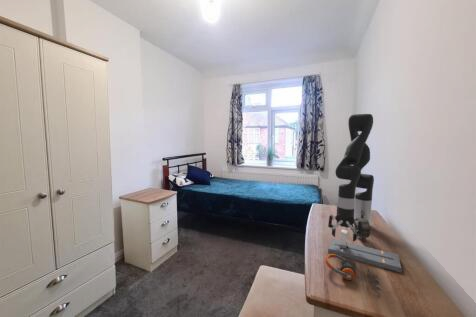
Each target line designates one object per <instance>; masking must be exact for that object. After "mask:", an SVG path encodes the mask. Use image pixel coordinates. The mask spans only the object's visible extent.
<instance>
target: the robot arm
mask: <svg viewBox="0 0 476 317" xmlns="http://www.w3.org/2000/svg"><path fill="white" fill-rule="evenodd" d="M373 125H374V116H373V114H371V113H355V114H351V115H349V118H348V131H349V138H350V142H349V143H348V145H347V147H346V149H345V152H344V156H343V158H341V161H340V162H339V163H338V164H337V167H336V168H335V170H334V171H335V172H334V173H335V176H336V177H337V178H338V179H339V180H346V181H350V182H349V183H342V184H339V186H338V195H337V202H336V215H333V214H330V215H329V216H328V224H327V226H328V228H330V229H331V236H333V237H335V238H336V228H338V227H344V228H348V229H350V230H351V232H352V233H353V234H352V242H355V241H357V238H358V237H357V234H361V220H355V219H356V217H361V213H362V215H363V211H364V215H363V217H366V218H367V220H368V222H369V225H370V226H371V219H372V218H371V217H372V202H373V191H374V190H373V189H374V181H375V177H374V176H373V174H367V173H362V170H363V168H364V167H366V166H367V164H369V162H370V160H371V149H370V147H369V146H368V144H367V140H368V138H369V136H370V134H371V131H372V128H373ZM359 132H360V134H359ZM356 188H358V189H363V190H364V189H365V190H364V191H362V192H361V191H360V192H357V193H356ZM361 210H363V211H362V212H361ZM334 220H335V221H336V222H335V223H334V224H333V221H334ZM354 223H356V224H357V225H358V230H356V229H355V226H354Z"/></svg>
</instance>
